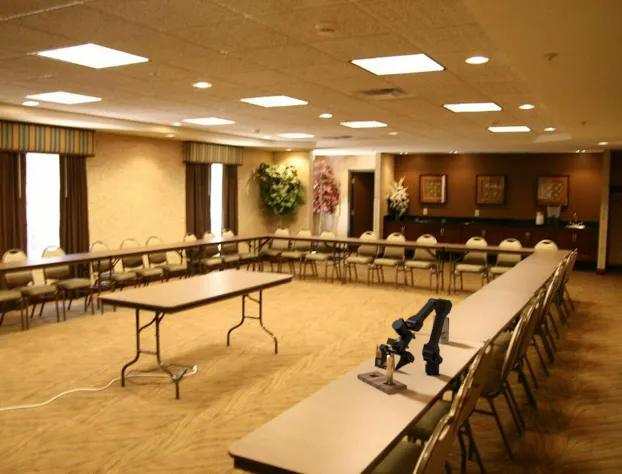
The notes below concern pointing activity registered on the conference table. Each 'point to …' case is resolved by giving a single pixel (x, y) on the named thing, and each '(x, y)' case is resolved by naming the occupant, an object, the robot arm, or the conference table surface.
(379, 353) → the ammunition clip
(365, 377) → the block
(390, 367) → the brass peg
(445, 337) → the coffee box
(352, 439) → the conference table surface
